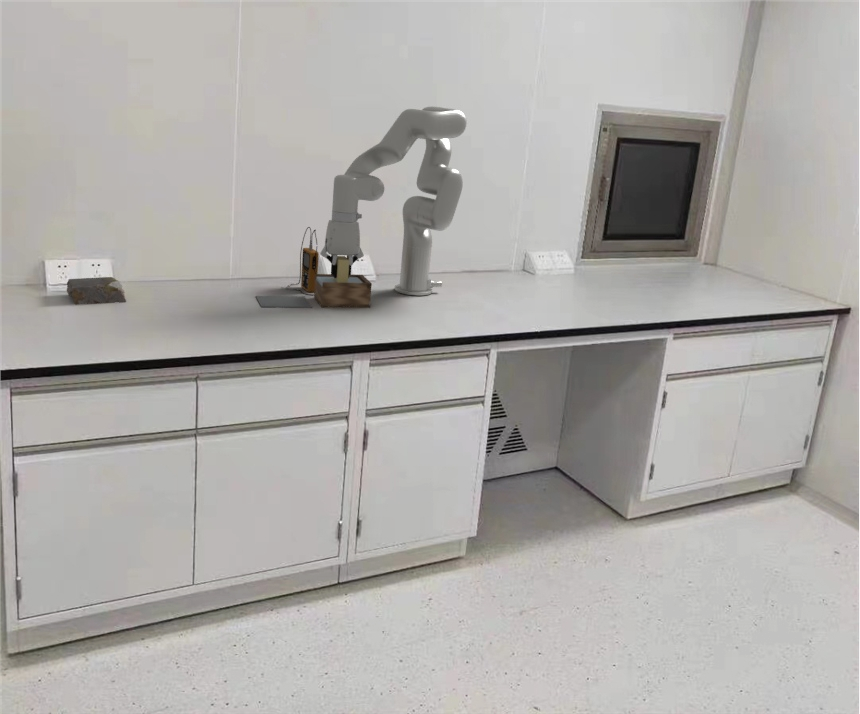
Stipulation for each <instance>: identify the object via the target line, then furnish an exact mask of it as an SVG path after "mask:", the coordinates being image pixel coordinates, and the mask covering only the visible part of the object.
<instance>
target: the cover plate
mask: <svg viewBox="0 0 860 714" xmlns="http://www.w3.org/2000/svg"><path fill="white" fill-rule="evenodd" d="M336 263H337V264H336V265H337V278H334V277H316V280H317V281H318V282H319V284H320V285H321V286H322V285H323V282H338V283H363V282H362V281H361V280H360V279H359V278H358V277H349V278H348V273H349V260H348V259H347V256H346V255H337V261H336Z"/></svg>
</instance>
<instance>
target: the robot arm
mask: <svg viewBox="0 0 860 714" xmlns="http://www.w3.org/2000/svg"><path fill="white" fill-rule="evenodd" d="M467 124H468V123H467V118H466V115H465V114H464V112H463V111H461V110H459V109H455V108H450V107H449V108H448V107H441V106H426V107H423V108H422V109H415V108H408V109H404V110H403V111H402V112H400V113H399V115H398V117H397V118H396V120H395V121H394V122H393V124H392V125H391V126H390V128H389V129H388V131H387V132H386V134H385V135H384V136H383V138H382V139H381V140H380V142H379V143H377V144H375V145H373V146H372V147H370V148H369V149H367V150H366V151H364V152H363V153H361V154H360V155H358V156H357V157H356V158H355V159H354V160H353V161H352V163H351V164H350V165H349V167H348V168H347V170H346V171H345V173H344V174H337V175H335V176H334V179H333V188H332V190H333V191H332V206H331V207H332V210H331V219H328V222H327V226H326V232H325V237H324V238H325V239H324V246H323V248H322V249H321V251H320V252H319V253H320V255H321V256H322V257H323V258H324V259H326V260H328V261H329V263H331V264H330V266H331V267H330V274H331V275H332V276H333V277H334V278H337V265H336V264H337V263H336V261H337V256H346V258H347V259H348V260H349V273H348V278H349V275H352V266H353V265H354V263H355V262H356V261H358V260H360V259H362V258H363V257H364V252H363V250H362V248H361V236H360V235H361V233H360V232H361V231H360V225H359V224H360V223H359V221H358V220H359V219H362V218H363V215H362V213H359V212H358V210H359V209H358V207H359V201H367V202H375V201H377V200H379V199H380V198H382V196H383V195H384V194H385V193H384V192H385V184H384V182H383V181H382V180H381V178H379V177H378V176H375V175H370V174H372V173H373V172H374V171H376V170H379V169H381V168H383V167H387V166H390V165H393V164H396V163H399V162H401V161H402V160H403V159H404V158H405V156H406V155H407V154H408V152H409V150H410V149H411V148H412V146H413V145H414V144H415V142H416V141H417V140H418V139H422V140H425V150H424V154H423V158H422V161H421V165H420V168H419V170H418V174H417V176H416V177H417V178H416V187H417V189H418V190H419V191H420V192H422V193H425V194H428V195H433V196H436V197H435V198H430V197H426V196H423V195H413V196H410V197H408V198H407V199H406V201H405V202H404V203H403V205H402V206H403V207H402V221H403V238H402V239H403V240H402V252H401V263H400V275H399V276H400V277H399V283H398V284H396V285H395V286H394V291H395V292H397V293H400V294H402V295H408V296H418V297H419V296H420V297H421V296H428V295H431V294H432V293H433V289H432V288H442V286H443V283H442V281H438V280H432V279H430V278H429V276H430V265H431V257H432V247H433V235H432V232H431V230H433V231H437V232H442V231H445V230H446V229H448V228H449V227H450V225H451V224H452V223H453V219H454V216H455V214H456V211H457V207H458V204H459V201H460V197H461V195H462V190H463V176H462V174H461V172H460V171H459V170H458V169H455V168H453V167H450V165H449V164H450V161H451V157H452V144H451V141H450V139H454V138H458V137H460V136H461V135H462V134H463V133H464V132H465V131H466V127H467Z"/></svg>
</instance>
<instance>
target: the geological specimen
mask: <svg viewBox="0 0 860 714" xmlns="http://www.w3.org/2000/svg"><path fill="white" fill-rule="evenodd" d="M66 285H67V286H66V293H67V295H68V296H69V297H72V298H73V301H74V304H75V305H76V306H77V305H92V304H93V305H96V304H114V303H115V302H119V303H127V299H126V296H125V293H126V291H125V290H124V288H123V286H122V284H121V282H120V280H117V279H116V278H115V277H112V276H105V277H104V276H103V277H102V276H100V277H84V278H69V279H68V281H67V282H66ZM115 304H116V303H115Z"/></svg>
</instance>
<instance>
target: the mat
mask: <svg viewBox="0 0 860 714" xmlns="http://www.w3.org/2000/svg"><path fill="white" fill-rule="evenodd" d="M255 298H256V300H257V299H258V300H257V302H258V301H259V302H258V304H259V303H260V304H259V306H260V305H261V306H260V307H261V308H276V307H282V308H283V307H284V309H287V308H291V309H292V308H293V309H294V308H297V309H298V308H299V309H301V308H302V309H304V308H311V309H312V308H313V306H312V305H311V303H310V302H309V300H308V299H307V298H306V296H302V295H301V296H298V295H297V296H295V295H294V296H293V295H288V296H287V295H256V296H255Z"/></svg>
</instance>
